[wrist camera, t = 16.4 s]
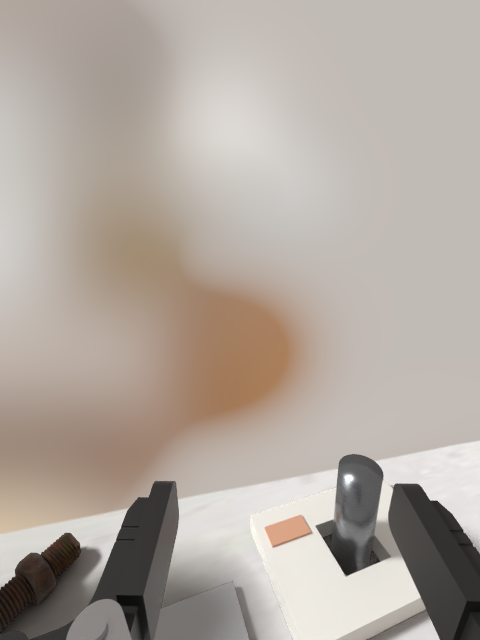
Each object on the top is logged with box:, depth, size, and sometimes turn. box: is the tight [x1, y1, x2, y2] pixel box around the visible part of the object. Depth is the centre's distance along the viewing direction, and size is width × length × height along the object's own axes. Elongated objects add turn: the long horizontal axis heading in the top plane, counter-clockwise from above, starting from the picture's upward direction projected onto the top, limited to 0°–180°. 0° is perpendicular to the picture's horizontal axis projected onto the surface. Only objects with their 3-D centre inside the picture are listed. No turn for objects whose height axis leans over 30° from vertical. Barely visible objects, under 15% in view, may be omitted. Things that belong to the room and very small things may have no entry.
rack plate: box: [250, 479, 426, 640], centre depth 36 cm, size 20×14×3 cm
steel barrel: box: [330, 454, 383, 576], centre depth 35 cm, size 4×4×13 cm
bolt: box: [0, 533, 81, 632], centre depth 31 cm, size 6×5×15 cm
